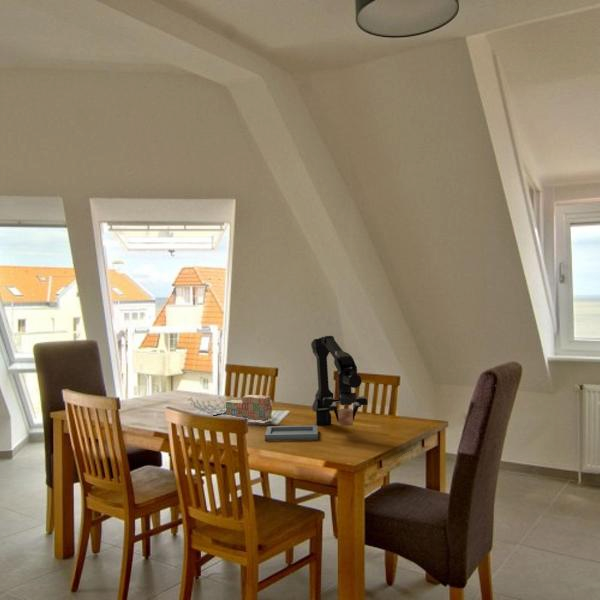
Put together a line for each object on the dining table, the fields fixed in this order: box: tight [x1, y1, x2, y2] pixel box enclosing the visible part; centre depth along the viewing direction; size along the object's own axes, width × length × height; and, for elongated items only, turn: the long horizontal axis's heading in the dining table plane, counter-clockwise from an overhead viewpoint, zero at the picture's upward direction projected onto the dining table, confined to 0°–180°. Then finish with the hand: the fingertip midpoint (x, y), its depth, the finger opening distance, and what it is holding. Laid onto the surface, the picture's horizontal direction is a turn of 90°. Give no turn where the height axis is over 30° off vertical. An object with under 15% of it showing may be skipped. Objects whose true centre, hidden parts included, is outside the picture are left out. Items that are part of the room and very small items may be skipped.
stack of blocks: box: [225, 394, 272, 421], centre depth 287 cm, size 21×6×12 cm, turn 66°
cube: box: [337, 408, 354, 427], centre depth 254 cm, size 6×6×6 cm
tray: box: [264, 424, 319, 441], centre depth 255 cm, size 22×16×2 cm
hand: (345, 421), depth 254 cm, fingers closed on cube, 6 cm apart
